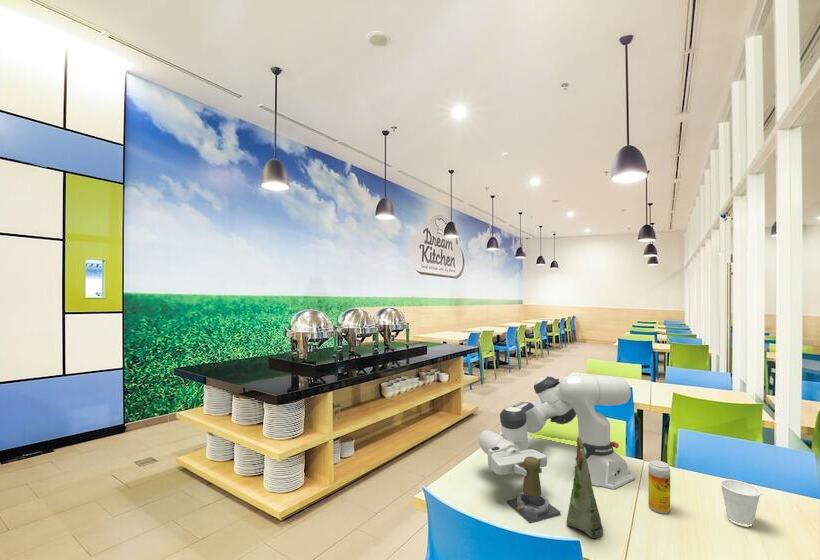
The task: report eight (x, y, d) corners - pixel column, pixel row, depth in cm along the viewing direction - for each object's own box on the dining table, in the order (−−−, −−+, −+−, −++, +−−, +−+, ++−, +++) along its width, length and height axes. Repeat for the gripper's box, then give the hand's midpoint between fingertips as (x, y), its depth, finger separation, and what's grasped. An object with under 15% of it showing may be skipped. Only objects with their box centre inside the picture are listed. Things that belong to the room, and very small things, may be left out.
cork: (541, 498, 126) (541, 463, 126) (522, 494, 127) (522, 460, 127) (541, 488, 131) (541, 455, 131) (522, 485, 133) (522, 453, 133)
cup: (764, 536, 116) (764, 498, 116) (722, 525, 121) (722, 489, 121) (757, 519, 124) (757, 484, 125) (717, 509, 130) (717, 476, 130)
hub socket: (535, 496, 137) (535, 487, 137) (560, 515, 126) (560, 505, 126) (506, 502, 133) (506, 494, 133) (529, 523, 121) (529, 513, 121)
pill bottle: (663, 516, 125) (663, 469, 126) (644, 506, 131) (644, 461, 131) (674, 511, 128) (674, 465, 128) (655, 502, 134) (655, 458, 134)
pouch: (585, 543, 112) (585, 455, 112) (554, 520, 123) (554, 440, 123) (612, 534, 117) (613, 449, 117) (580, 512, 127) (581, 435, 128)
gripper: (532, 459, 145) (558, 476, 132) (484, 468, 138) (507, 487, 125) (532, 442, 145) (559, 457, 132) (484, 450, 138) (507, 467, 125)
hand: (533, 472), depth 129 cm, fingers closed on cork, 4 cm apart
